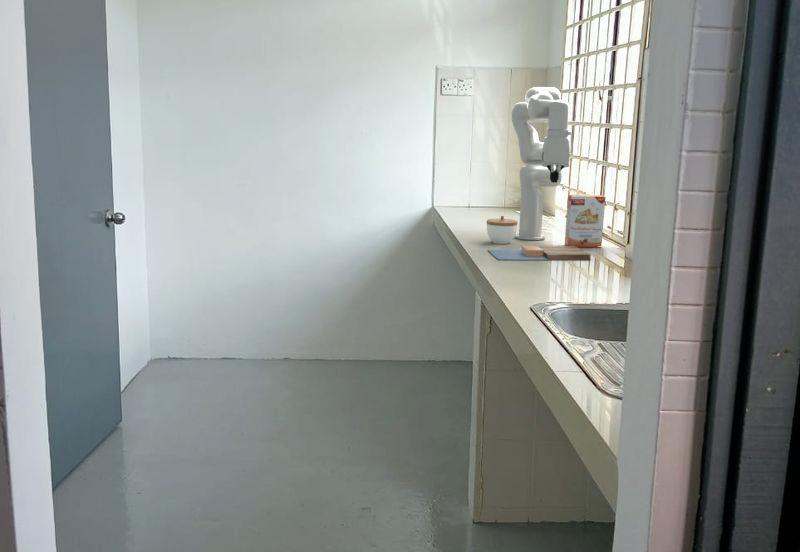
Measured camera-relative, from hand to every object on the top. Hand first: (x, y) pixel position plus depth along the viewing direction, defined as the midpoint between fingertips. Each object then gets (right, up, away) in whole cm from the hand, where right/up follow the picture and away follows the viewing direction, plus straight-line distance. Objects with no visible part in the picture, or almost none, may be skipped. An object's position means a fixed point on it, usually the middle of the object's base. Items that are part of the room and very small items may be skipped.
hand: (553, 182), depth 310 cm
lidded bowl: (-18, -23, +22) cm, 36 cm away
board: (+2, -29, -6) cm, 29 cm away
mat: (-15, -29, -7) cm, 33 cm away
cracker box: (+15, -24, +16) cm, 33 cm away
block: (-10, -27, -8) cm, 30 cm away
